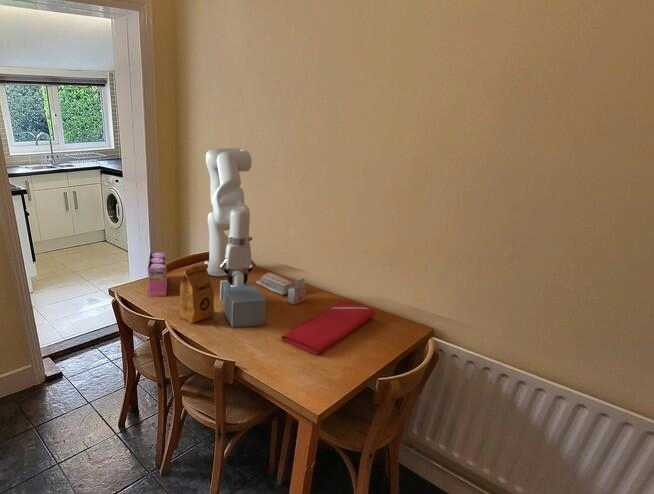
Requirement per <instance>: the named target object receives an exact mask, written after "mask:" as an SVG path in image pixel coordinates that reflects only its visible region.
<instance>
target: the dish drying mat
mask: <svg viewBox="0 0 654 494" xmlns="http://www.w3.org/2000/svg"><path fill="white" fill-rule="evenodd" d="M376 313H377V312H376V310H374V309H373V308H369V307H367V306H364V305H361V304H358V303H355V302H349V301H348V302H347V301H341V302H338V303H336V304H333V306H331V307H329V308H328V309H326V310H324V311H322V312H320V313H318V314H316V315H315V316H313V317H311V318H309V319H307V320H306V321H304V322H302V323H300V324H298V325H296V326H294V327H292V328H291V329H290V330H289V331H287V332H285V333H284V334H283V335H281V336H280V338H281V339H282V341H284V342H286V343H288V344H290V345H292V346H295V347H298V348H300V349H303V350H304V351H307V352H309V353H311V354H313V355H319V354H321V353H322V352H324V351H325V350H327V349H328V348H330V347H331V346H333V345H334V344H336V343H337V342H339V341H341V340H342V339H343V338H344V337H346V336H348V335H349V334H350V333H352V332H354V331H355V330H356V329H358V328H359V327H361V326H362V325H363V324H364V323H366V322H367V321H369V320H370V319H371V318H372V317H373V316H374V315H376Z"/></svg>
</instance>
